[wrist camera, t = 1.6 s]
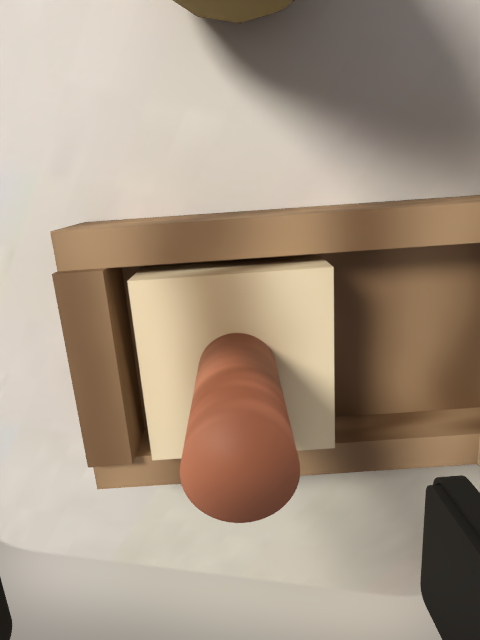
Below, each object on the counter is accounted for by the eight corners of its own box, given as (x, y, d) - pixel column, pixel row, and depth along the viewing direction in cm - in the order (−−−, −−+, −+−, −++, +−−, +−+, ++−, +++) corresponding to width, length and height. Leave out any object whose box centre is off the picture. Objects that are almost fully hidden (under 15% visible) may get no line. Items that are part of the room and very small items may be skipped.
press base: (618, 185, 22) (752, 186, 17) (581, 408, 26) (681, 473, 20) (84, 222, 22) (33, 236, 17) (119, 439, 26) (87, 512, 20)
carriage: (318, 254, 21) (395, 318, 11) (321, 412, 23) (386, 581, 13) (142, 266, 21) (63, 341, 11) (162, 423, 23) (111, 599, 13)
